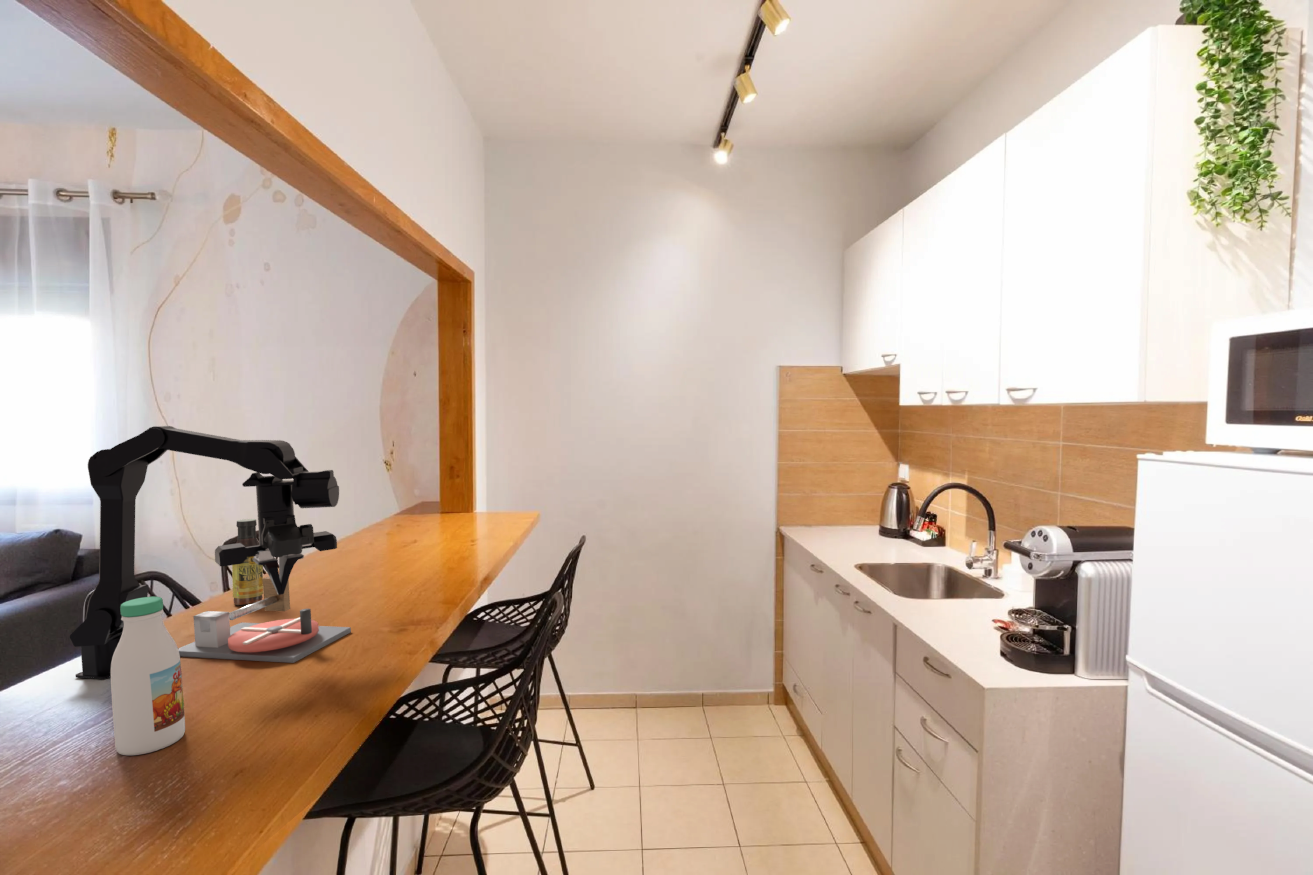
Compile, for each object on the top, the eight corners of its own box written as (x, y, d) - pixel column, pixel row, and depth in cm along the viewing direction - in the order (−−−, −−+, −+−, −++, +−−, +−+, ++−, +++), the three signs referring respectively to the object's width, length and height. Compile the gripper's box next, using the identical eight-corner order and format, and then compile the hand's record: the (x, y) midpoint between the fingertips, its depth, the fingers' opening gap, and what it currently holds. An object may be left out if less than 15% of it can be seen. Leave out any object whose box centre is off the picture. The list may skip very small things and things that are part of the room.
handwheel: (281, 654, 117) (279, 623, 117) (208, 650, 120) (206, 620, 120) (337, 625, 132) (335, 598, 132) (270, 622, 135) (269, 596, 135)
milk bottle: (129, 763, 86) (118, 612, 85) (105, 748, 90) (95, 604, 89) (196, 736, 92) (186, 596, 91) (171, 723, 97) (161, 589, 96)
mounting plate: (293, 662, 119) (291, 625, 118) (172, 655, 124) (170, 619, 124) (350, 632, 135) (349, 598, 134) (241, 626, 140) (239, 594, 139)
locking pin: (242, 628, 131) (240, 594, 130) (221, 627, 132) (218, 593, 131) (290, 608, 143) (288, 577, 143) (270, 608, 144) (268, 576, 144)
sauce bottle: (239, 608, 153) (234, 523, 152) (228, 603, 157) (223, 521, 156) (269, 600, 158) (264, 519, 157) (258, 596, 162) (253, 516, 161)
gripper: (222, 522, 108) (228, 616, 108) (343, 507, 120) (348, 592, 121) (211, 514, 116) (217, 602, 117) (326, 501, 128) (330, 580, 129)
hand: (280, 594), depth 121 cm, fingers closed
